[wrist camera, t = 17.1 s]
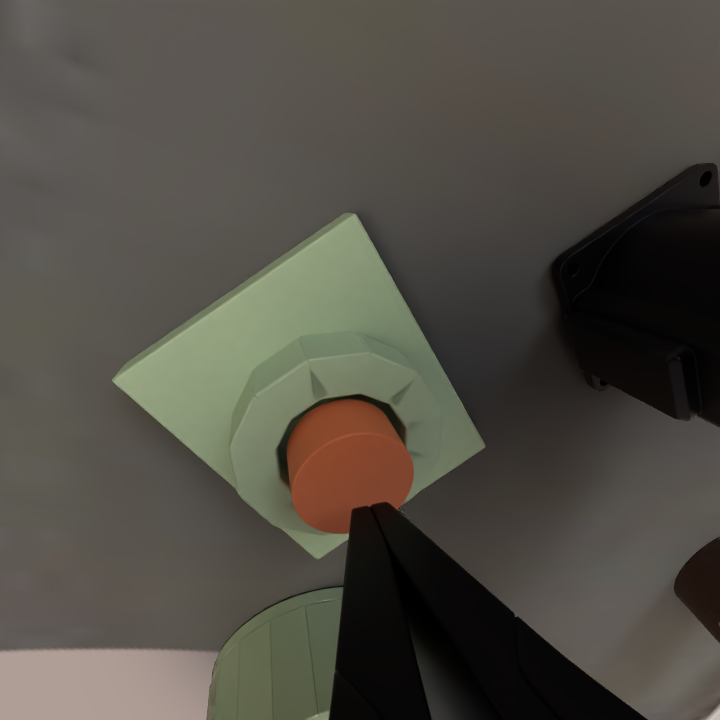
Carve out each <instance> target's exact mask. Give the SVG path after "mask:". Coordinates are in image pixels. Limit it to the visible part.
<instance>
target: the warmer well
mask: <svg viewBox="0 0 720 720" xmlns="http://www.w3.org/2000/svg"><path fill="white" fill-rule="evenodd" d="M342 595H343V587H336V588H328V589H322V590H317V591H312V592H308V593H305V594H301V595H298V596H295V597H292V598H290V599H287V600H285V601H282V602H280V603H278V604H276V605H274V606H272V607H270V608H268V609H266V610H265V611H263V612H261V613H260V614H258V615H256V616H255V617H253V618H252V619H251V620H249V621H248V622H247V623H245V624H244V625H243V626H242V627H241V628H240V629H238V630H237V631H236V632H235V633H234V634H233V635H232V636H231V638H230V639H229V640H228V641H227V642H226V643H225V645H224V647H223V648H222V650H221V651H220V653H219V655H218V657H217V659H216V662H215V664H214V668H213V672H212V683H211V685H210V690H209V700H208V710H207V720H329V713H330V705H331V697H332V688H333V678H334V673H335V661H336V652H337V642H338V633H339V624H340V614H341V605H342Z"/></svg>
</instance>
